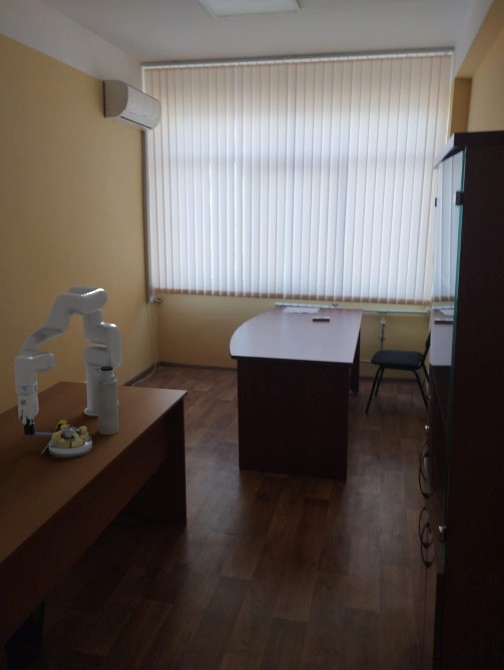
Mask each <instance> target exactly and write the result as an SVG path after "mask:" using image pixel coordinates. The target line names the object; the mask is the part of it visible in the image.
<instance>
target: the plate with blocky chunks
mask: <svg viewBox="0 0 504 670" xmlns="http://www.w3.org/2000/svg"><path fill="white" fill-rule="evenodd" d="M67 426H68V427H67V428H65V429H63V436H64V438H62V439H69V440H71V439H73V437H72V434H75V433H77V429H78V428H77V427H76V426H70V423H69V424H68V425H67ZM48 443H49V446H48V452H49V454H50V455H51V456H52V457H55V458H59V459H70V458H77V457H81V456H84V455H86V454H88V453H89V452H91V450H93V438H92V437H91V435H89V440H88V441H87V442H86V443H85V444H83V445H81V446H77V447H74V448H71V447H70V448H58V447H56V446H55V445H54V444H52V440H51V439H50V440H49V442H48Z"/></svg>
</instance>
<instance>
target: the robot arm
mask: <svg viewBox="0 0 504 670" xmlns="http://www.w3.org/2000/svg"><path fill="white" fill-rule="evenodd" d="M107 302H108V293H107V292H106V290H105V289H103V288H101V287H94V286H93V287H92V286H87V285H86V286H85V285H84V286H83V285H74V286H71V287H69V288H68V290H67V292H63V293H62V292H61V293H59V294H58V295H57V296H56V297H55V299H54V302H53V304H52V306H51V308H50V310H49V312H48V315H47V317H46V318H45V321H44V323H43V324H42V325H40V326H39V327H37V329H35V330H34V331H32V333H30V334H29V335H28V336H26V338H25V340H24V341H23V343H22V345H21V348H20V350H19V352H18V356H16V357H15V358H14V360H13V365H14V366H13V367H14V382H15V383H14V385H15V394H17V397H18V399H17V409H18V410H17V412H18V419H19V420H20V421H22V425H23V434H24V436H28V435H33V434H34V422H35V418H36V416H37V415H38V413H39V412H40V407H39V398H38V397H39V396H38V387H39V386H38V376H37V375H38V373H44V372H49V371H52V369H54V367H55V366H56V363H57V359H56V355H55V354H54V353H52V352H49V351H43V350H38V348H39V347H40V346H41V345H42V344H43V343H45V342H47V341H49V340H51V339H54V338H57V337H59V336H62V335H64V334H65V333H66V330H67V329H68V326H69V324H70V321H71V320H72V317H73V315H75V316H82V323H83V325H82V327H83V335H84V338H85V340H86V341H87V342H88V343H92V344H89V345H87V346H86V347H85V348H84V349H83V351H82V353H83V354H82V360H83V363H84V368H85V376H86V379H85V381H86V402H87V404H86V405H87V407H85V408H84V410H83V413H84V415H86V416H88V417H98V390H97V380H99V375H100V374H101V367H103V366H112V367H113V369H117V368H119V367H120V366H121V365H122V362H123V348H122V347H123V345H122V334H121V331H120V328H119V326H118V325H116V324H114V323H112V322H105V320H104V316H103V309H102V308H104V307H105V305H107ZM119 405H120V401H119V400H118V406H119Z"/></svg>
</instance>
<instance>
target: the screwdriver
mask: <svg viewBox="0 0 504 670" xmlns="http://www.w3.org/2000/svg"><path fill="white" fill-rule="evenodd" d="M68 423H69V422H68V420H65V419H61V420H60V421H59V422H58V423H56V425H55V429H54V430H53V431H52V433H56V432H58V431H61V430H62V427H61V425H68ZM50 440H52V438H51V439H50ZM47 448H49V442H48V443H47V445H46V446H45V447H44V449H42V451H41V453H40V456H42V455H44V453H45V451H46V450H47Z"/></svg>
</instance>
